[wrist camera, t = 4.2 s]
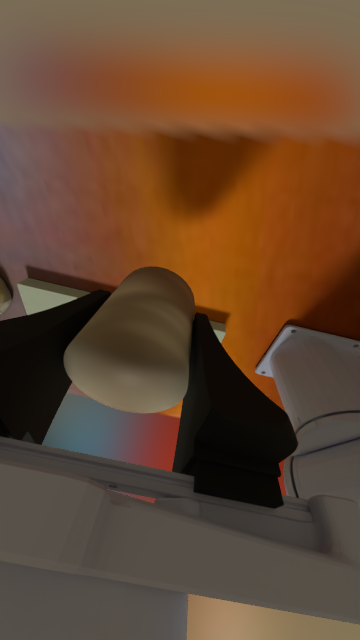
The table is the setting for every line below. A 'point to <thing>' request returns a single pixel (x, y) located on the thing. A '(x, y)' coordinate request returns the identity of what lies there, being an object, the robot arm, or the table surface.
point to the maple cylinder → (137, 344)
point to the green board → (66, 299)
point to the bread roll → (4, 296)
